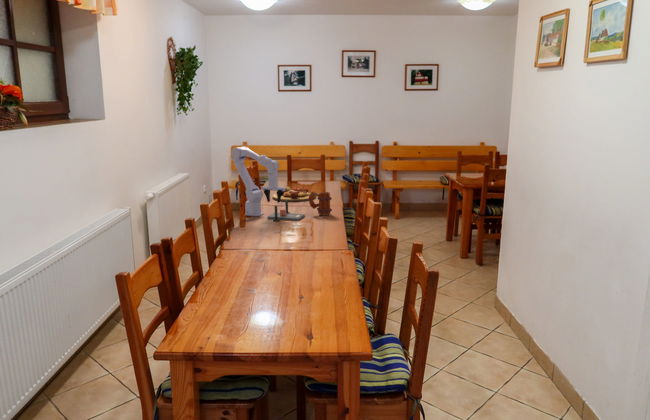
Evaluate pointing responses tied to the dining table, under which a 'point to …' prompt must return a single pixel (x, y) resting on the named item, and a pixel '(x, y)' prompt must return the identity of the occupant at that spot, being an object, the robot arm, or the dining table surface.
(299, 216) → the breaker panel
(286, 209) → the post
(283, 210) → the knob
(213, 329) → the dining table surface
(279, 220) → the post
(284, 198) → the wooden plate with food
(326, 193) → the mug
